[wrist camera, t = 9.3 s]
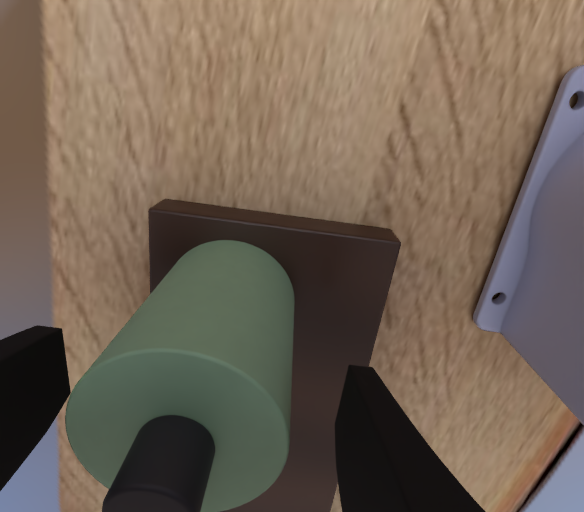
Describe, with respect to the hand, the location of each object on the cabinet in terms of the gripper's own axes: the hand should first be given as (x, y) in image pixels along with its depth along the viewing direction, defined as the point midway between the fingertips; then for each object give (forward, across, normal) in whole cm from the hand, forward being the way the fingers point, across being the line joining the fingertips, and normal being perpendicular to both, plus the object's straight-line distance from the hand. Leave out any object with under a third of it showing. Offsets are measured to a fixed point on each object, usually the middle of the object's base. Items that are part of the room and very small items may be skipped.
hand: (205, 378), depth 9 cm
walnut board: (+6, -1, +7) cm, 9 cm away
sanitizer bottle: (+4, 0, 0) cm, 4 cm away
